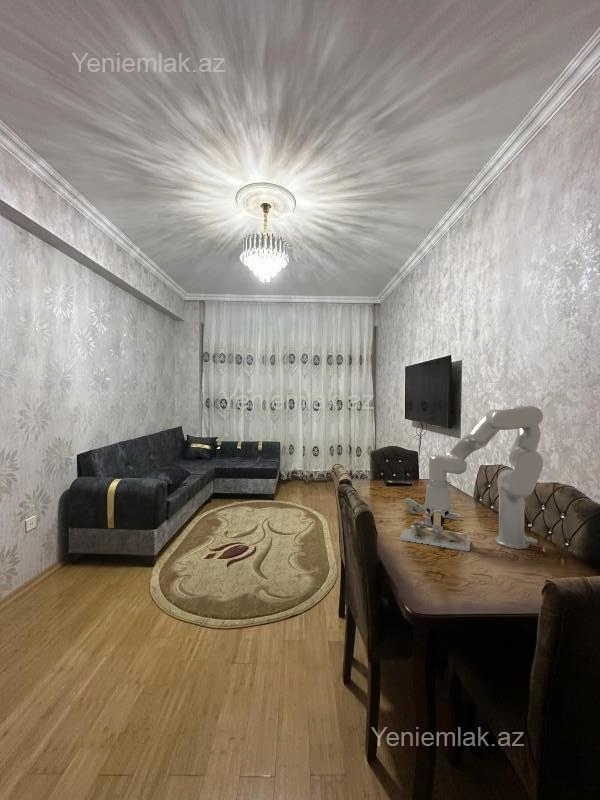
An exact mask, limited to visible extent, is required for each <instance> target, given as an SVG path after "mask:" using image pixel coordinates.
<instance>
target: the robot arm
mask: <svg viewBox="0 0 600 800" xmlns="http://www.w3.org/2000/svg"><path fill="white" fill-rule="evenodd" d="M543 420H544V414H543V411H542V410H541V409H540V408H539V407H536V406H534V405H518V406H515V407H513V408H509V409H507V408H506V409H497V408H496V409H495V408H494V409H490V410H489V411H487V412H486V413H485V414H484V415H483V416H482V417H481V418H480V420H479V421H478V422H477V423H476V424H475V425H474V427H473V428H472V429H471V430H470V431H469V432H468V434H466V435H465V436H464V437H463V438H462V439H461V440H459V441H458V442H457V443H456V444H455V445H454V446H453V447H452V448H451V449H450V451H449V452H448V453H447V454H446V455H445V456H444V455H439V454H438V455H437V454H435V455H430V456H429V457H428V484H427V485H426V491H425V502H424V503H423V505H421V506H422V508H423V509H425V510H426V511H427V512H428V513H429V514H430V515H431V522H432V525H434V513H433V511H434V509H437V510H441V511H442V515H441V526H443V527H444V525H445V521H446V520H445V519H446V517H445V516H446V515H448V514H449V513H454V508H453V506H452V505H451V494H450V486H451V482H450V481H448V480H447V479H448V478H447V477H448V474H455V475H460V474H461V475H462V474H464V473H465V472H466V471H467V469H468V464H467V461H466V459H467V458H468V457H469V456H470V455H471V454H472V453H474V452H476V451H479V450H480V449H483V448H485V447H486V446H488V444H489V443H490V442H491V440H493V438H494V437H495V436H496V435H497V434H498V432H499V431H507V430H517V433H516V437H515V440H514V443H513V445H512V447H511V451H510V453H509V455H508V461H509V462H508V463H509V464H510V466H512V467H513V468H514V470H513V469H505V470H503V471H501V472H500V473H499V474H498V477H497V481H496V483H497V490H498V491H497V492H498V535H497V536H495V537H494V542H495V543H496V544H497V545H499V546H502V547H505V548H508V547H509V549H514V548H515V549H514V550H523V549H524V550H525V549H528V548H529V545H530V544H534V545H538V539H537V538H534V537H531V536H526V534H525V499H526V498H527V497H529V496H531V494H532V493H533V491H534V490H535V489H536V486H537V483H538V481H539V478H540V476H541V473H542V471H543V467H544V459H543V457H542V455H541V454H540V453H539V452H538V451H537V450H538V447H539V444H540V440H541V429H540V426H539V425H540V424H541V423H542V422H543ZM429 508H430V509H429ZM445 511H446V512H445Z"/></svg>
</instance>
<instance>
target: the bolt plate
mask: <svg viewBox="0 0 600 800" xmlns="http://www.w3.org/2000/svg"><path fill="white" fill-rule="evenodd" d="M399 541H403V542H409V541H410V543H415V542H416V543H417V544H421V543H423V544H422V545H427V544H429V545H428V546H433V545H434V547H438V546H441V547H440V548H444V547H445V548H446V549H451V550H456V551H463V552H468V551H469V552H470V551H471V550H470V548H471V538H470V537H466V541H464V540H457V539H451V538H445V537H439V536H438V538H435V536H432V535H426V534H420V533H419V536H416V533H414V532H411V528H407V527H405V528H404V529H403V530H402V532H401V533H400V536H399Z"/></svg>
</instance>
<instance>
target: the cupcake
mask: <svg viewBox="0 0 600 800" xmlns="http://www.w3.org/2000/svg"><path fill="white" fill-rule="evenodd" d="M429 509H430V508H429ZM434 512H437V513H440V512H439V510H437V509H434V511H433V513H434ZM422 517H423V519H424V524H425V526H426V528H432V522H431V515H430V514H429V513H428V512H427V511H426V512H424V514H423V515H422Z"/></svg>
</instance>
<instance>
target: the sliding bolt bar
mask: <svg viewBox="0 0 600 800" xmlns="http://www.w3.org/2000/svg"><path fill="white" fill-rule="evenodd" d="M410 529H411V532H414V533H416V536H419V533H420V534H426V535H432V536H435V532H434V530H432V528H430V527H427V526H426V527H425V521H421V520H414V522H413V524H412V525H411V526H410ZM438 536H439V537H445V538H451V539H457V540H464V541H466V538H467V533H465V532H458V531H451V530H445V529H442V531H439V532H438Z"/></svg>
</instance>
